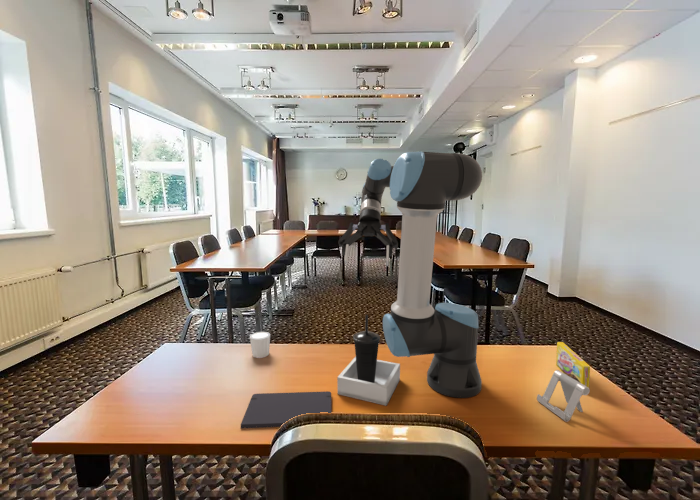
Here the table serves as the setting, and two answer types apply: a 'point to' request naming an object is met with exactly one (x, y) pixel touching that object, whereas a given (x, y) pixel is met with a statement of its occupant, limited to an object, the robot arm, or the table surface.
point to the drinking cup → (366, 353)
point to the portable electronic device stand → (571, 393)
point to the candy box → (572, 364)
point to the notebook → (283, 407)
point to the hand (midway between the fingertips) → (366, 263)
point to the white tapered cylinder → (260, 344)
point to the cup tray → (369, 391)
